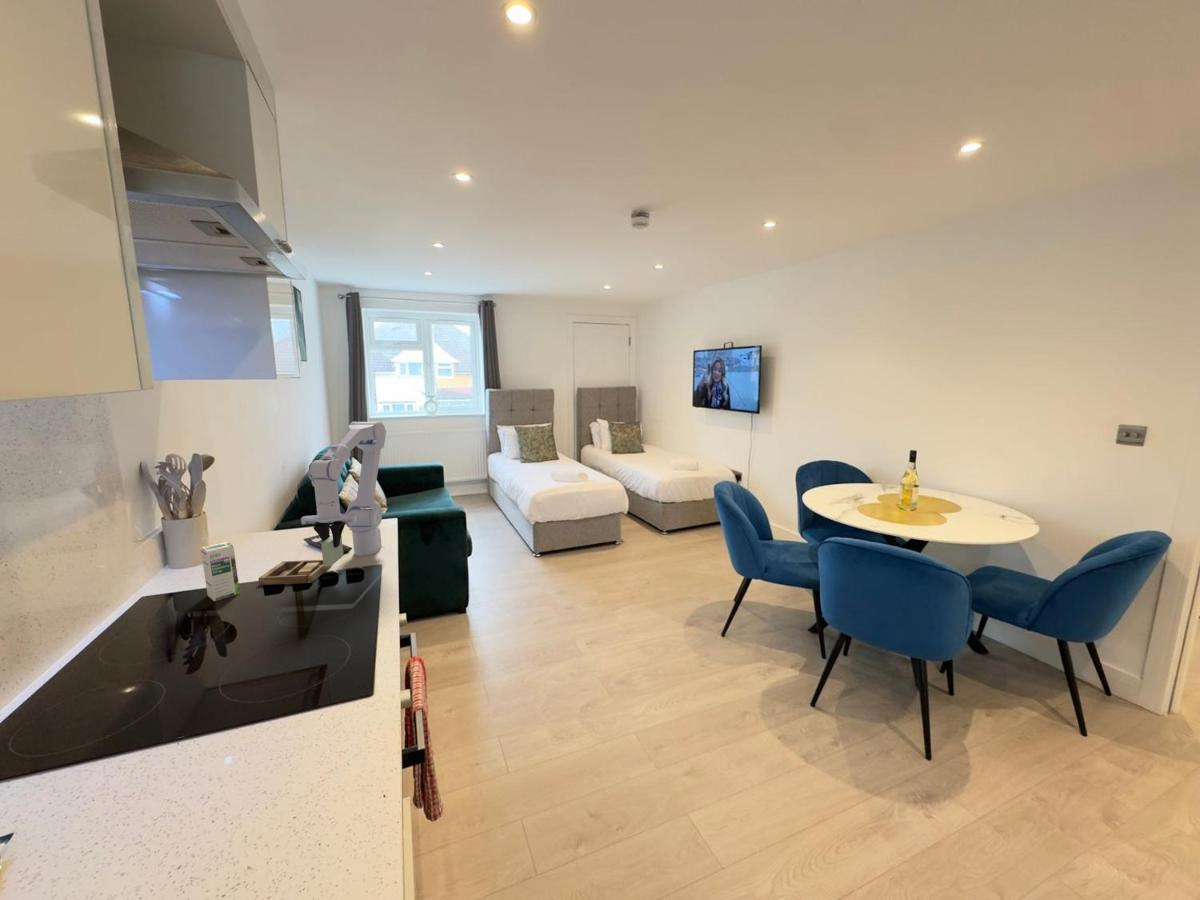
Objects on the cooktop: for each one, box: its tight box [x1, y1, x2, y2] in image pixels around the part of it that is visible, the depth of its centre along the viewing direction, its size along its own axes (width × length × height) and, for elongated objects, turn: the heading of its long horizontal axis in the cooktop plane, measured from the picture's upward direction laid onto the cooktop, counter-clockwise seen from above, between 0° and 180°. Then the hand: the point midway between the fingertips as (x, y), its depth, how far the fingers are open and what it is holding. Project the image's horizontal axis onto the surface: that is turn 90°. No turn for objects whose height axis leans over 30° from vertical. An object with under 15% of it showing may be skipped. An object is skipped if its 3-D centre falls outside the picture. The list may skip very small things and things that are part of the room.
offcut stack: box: [298, 562, 321, 579], centre depth 138 cm, size 7×4×2 cm, turn 5°
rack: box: [258, 559, 332, 586], centre depth 138 cm, size 12×14×3 cm
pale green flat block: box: [320, 535, 344, 567], centre depth 138 cm, size 8×2×7 cm, turn 5°
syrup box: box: [199, 541, 241, 602], centre depth 125 cm, size 6×6×14 cm
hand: (332, 546), depth 138 cm, fingers closed on pale green flat block, 2 cm apart
